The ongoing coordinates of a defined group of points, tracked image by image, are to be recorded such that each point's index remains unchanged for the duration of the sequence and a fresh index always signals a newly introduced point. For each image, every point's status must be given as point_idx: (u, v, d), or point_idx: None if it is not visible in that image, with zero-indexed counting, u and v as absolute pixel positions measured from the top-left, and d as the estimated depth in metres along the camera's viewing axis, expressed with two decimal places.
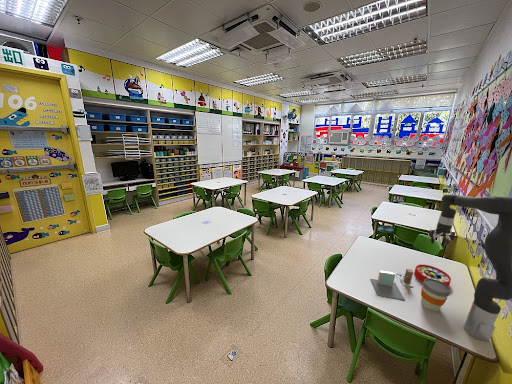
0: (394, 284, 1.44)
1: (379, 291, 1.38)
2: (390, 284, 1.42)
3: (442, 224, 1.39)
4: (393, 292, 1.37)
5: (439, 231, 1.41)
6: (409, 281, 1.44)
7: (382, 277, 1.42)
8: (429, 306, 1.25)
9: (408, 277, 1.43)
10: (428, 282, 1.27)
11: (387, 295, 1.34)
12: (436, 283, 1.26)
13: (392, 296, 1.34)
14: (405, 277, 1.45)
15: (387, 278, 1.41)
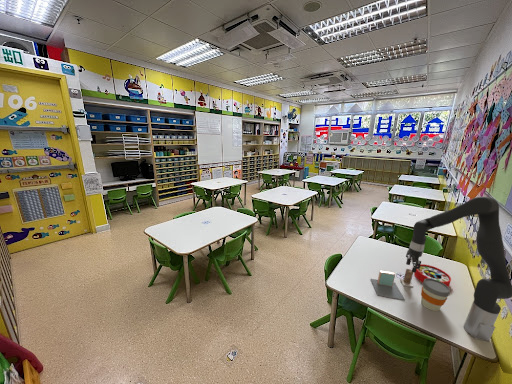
0: (394, 284, 1.44)
1: (379, 291, 1.38)
2: (390, 284, 1.42)
3: (422, 251, 1.35)
4: (393, 292, 1.37)
5: None
6: (409, 281, 1.44)
7: (382, 277, 1.42)
8: (429, 306, 1.25)
9: (408, 277, 1.43)
10: (428, 282, 1.27)
11: (387, 295, 1.34)
12: (436, 283, 1.26)
13: (392, 296, 1.34)
14: (405, 277, 1.45)
15: (387, 278, 1.41)
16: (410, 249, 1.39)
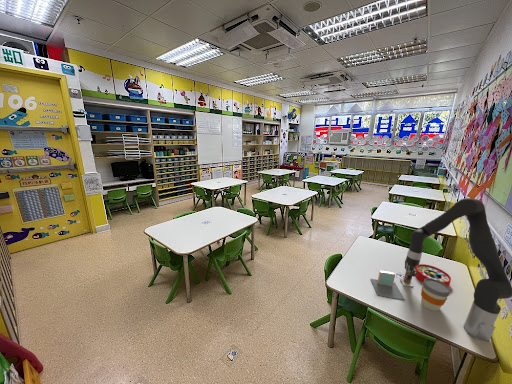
0: (394, 284, 1.44)
1: (379, 291, 1.38)
2: (390, 284, 1.42)
3: (419, 260, 1.37)
4: (393, 292, 1.37)
5: None
6: (409, 281, 1.44)
7: (382, 277, 1.42)
8: (429, 306, 1.25)
9: None
10: (428, 282, 1.27)
11: (387, 295, 1.34)
12: (436, 283, 1.26)
13: (392, 296, 1.34)
14: (405, 277, 1.45)
15: (387, 278, 1.41)
16: (408, 257, 1.40)
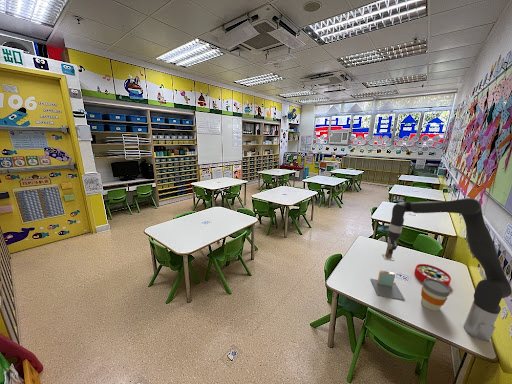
0: (394, 284, 1.44)
1: (379, 291, 1.38)
2: (390, 284, 1.42)
3: (400, 233, 1.38)
4: (393, 292, 1.37)
5: None
6: (390, 255, 1.45)
7: (382, 277, 1.42)
8: (429, 306, 1.25)
9: None
10: (428, 282, 1.27)
11: (387, 295, 1.34)
12: (436, 283, 1.26)
13: (392, 296, 1.34)
14: (387, 251, 1.46)
15: (387, 278, 1.41)
16: (389, 231, 1.41)
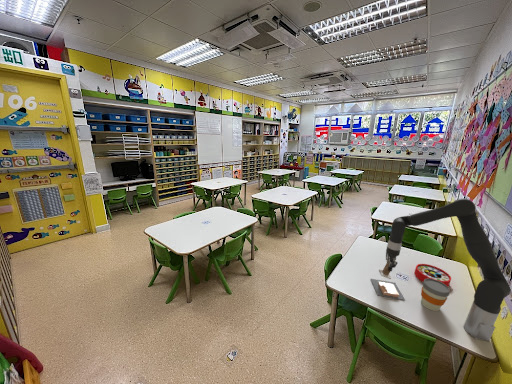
0: (394, 284, 1.44)
1: (379, 291, 1.38)
2: None
3: (399, 250, 1.33)
4: None
5: None
6: (388, 272, 1.40)
7: None
8: (429, 306, 1.25)
9: None
10: (428, 282, 1.27)
11: (387, 295, 1.34)
12: (436, 283, 1.26)
13: (392, 296, 1.34)
14: (385, 268, 1.41)
15: None
16: (387, 248, 1.36)
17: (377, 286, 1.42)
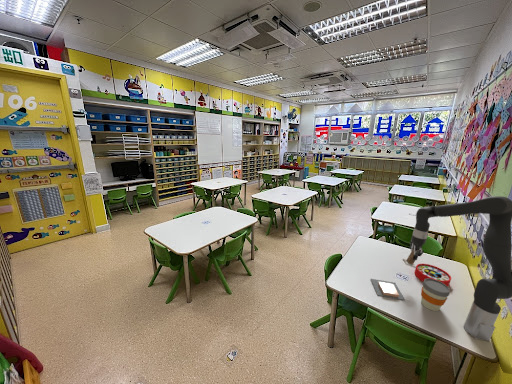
0: (394, 284, 1.44)
1: (379, 291, 1.38)
2: None
3: (425, 239, 1.32)
4: None
5: None
6: (413, 261, 1.40)
7: None
8: (429, 306, 1.25)
9: None
10: (428, 282, 1.27)
11: (387, 295, 1.34)
12: (436, 283, 1.26)
13: (392, 296, 1.34)
14: (409, 257, 1.41)
15: None
16: (413, 237, 1.36)
17: (377, 286, 1.42)
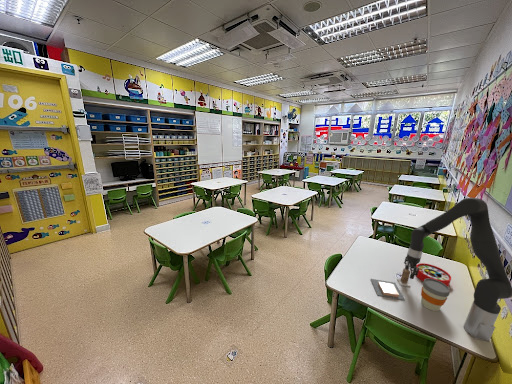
0: (394, 284, 1.44)
1: (379, 291, 1.38)
2: None
3: (420, 258, 1.37)
4: None
5: None
6: (406, 281, 1.44)
7: None
8: (429, 306, 1.25)
9: (405, 277, 1.44)
10: (428, 282, 1.27)
11: (387, 295, 1.34)
12: (436, 283, 1.26)
13: (392, 296, 1.34)
14: (402, 277, 1.46)
15: None
16: (408, 256, 1.40)
17: (377, 286, 1.42)
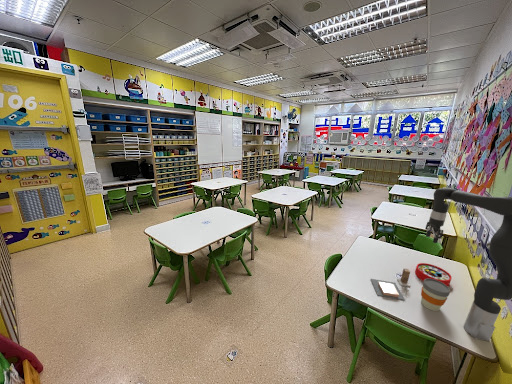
0: (394, 284, 1.44)
1: (379, 291, 1.38)
2: None
3: (444, 220, 1.32)
4: None
5: None
6: (406, 281, 1.44)
7: None
8: (429, 306, 1.25)
9: (405, 277, 1.44)
10: (428, 282, 1.27)
11: (387, 295, 1.34)
12: (436, 283, 1.26)
13: (392, 296, 1.34)
14: (402, 277, 1.46)
15: None
16: (431, 219, 1.35)
17: (377, 286, 1.42)
